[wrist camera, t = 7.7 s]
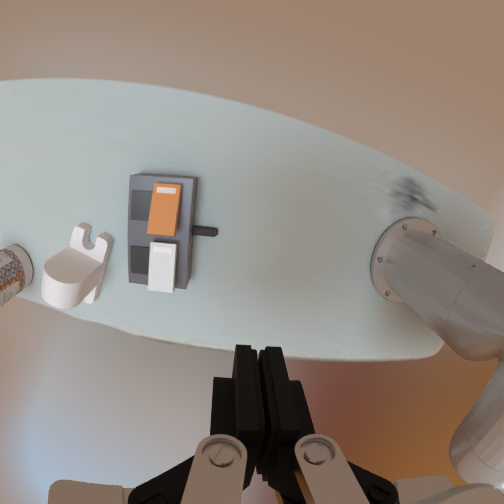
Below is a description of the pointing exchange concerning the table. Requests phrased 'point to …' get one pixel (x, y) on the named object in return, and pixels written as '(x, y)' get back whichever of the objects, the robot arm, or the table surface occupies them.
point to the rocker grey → (162, 266)
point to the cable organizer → (76, 270)
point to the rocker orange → (164, 209)
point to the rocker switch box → (141, 240)
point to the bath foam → (13, 272)
